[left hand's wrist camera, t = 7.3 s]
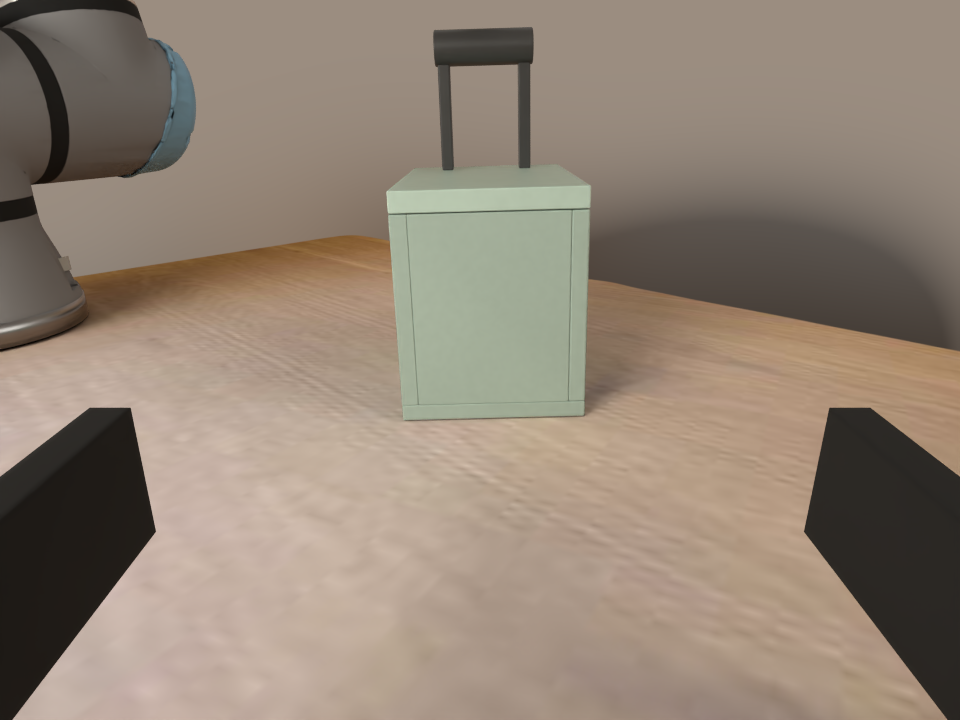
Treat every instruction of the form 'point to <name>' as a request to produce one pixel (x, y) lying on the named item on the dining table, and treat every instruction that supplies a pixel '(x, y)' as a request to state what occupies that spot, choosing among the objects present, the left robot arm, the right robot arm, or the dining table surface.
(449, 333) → the chest
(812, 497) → the left robot arm
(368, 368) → the dining table surface
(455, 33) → the lid
